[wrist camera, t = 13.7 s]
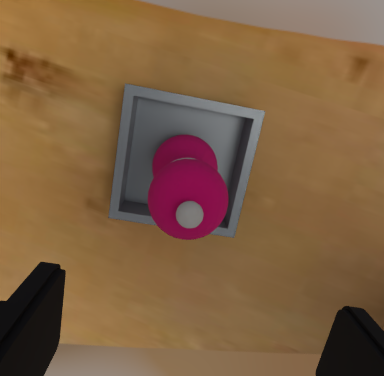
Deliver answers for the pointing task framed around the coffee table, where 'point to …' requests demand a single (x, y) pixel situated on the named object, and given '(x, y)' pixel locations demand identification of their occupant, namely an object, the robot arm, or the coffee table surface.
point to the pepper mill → (187, 188)
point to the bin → (172, 126)
